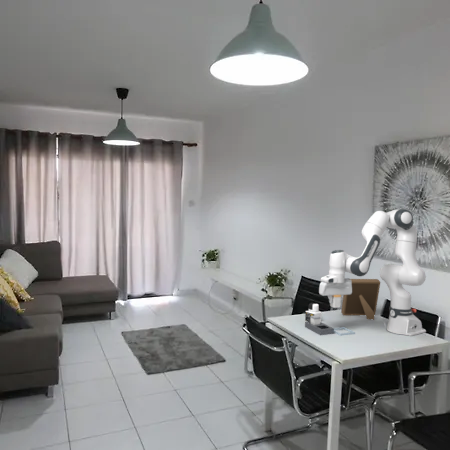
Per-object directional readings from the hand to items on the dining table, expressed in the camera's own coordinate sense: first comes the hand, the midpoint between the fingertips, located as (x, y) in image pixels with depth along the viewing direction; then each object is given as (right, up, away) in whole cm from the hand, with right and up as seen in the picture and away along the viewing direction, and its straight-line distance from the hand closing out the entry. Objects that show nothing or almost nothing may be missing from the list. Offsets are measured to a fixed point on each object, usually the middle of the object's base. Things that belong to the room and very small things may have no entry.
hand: (335, 302), depth 239 cm
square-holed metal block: (-8, -18, +4) cm, 20 cm away
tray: (+4, -18, +1) cm, 19 cm away
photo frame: (+27, -17, +38) cm, 49 cm away
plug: (0, -2, 0) cm, 2 cm away
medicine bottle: (-8, -17, +22) cm, 29 cm away
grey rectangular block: (-10, -16, +8) cm, 21 cm away
